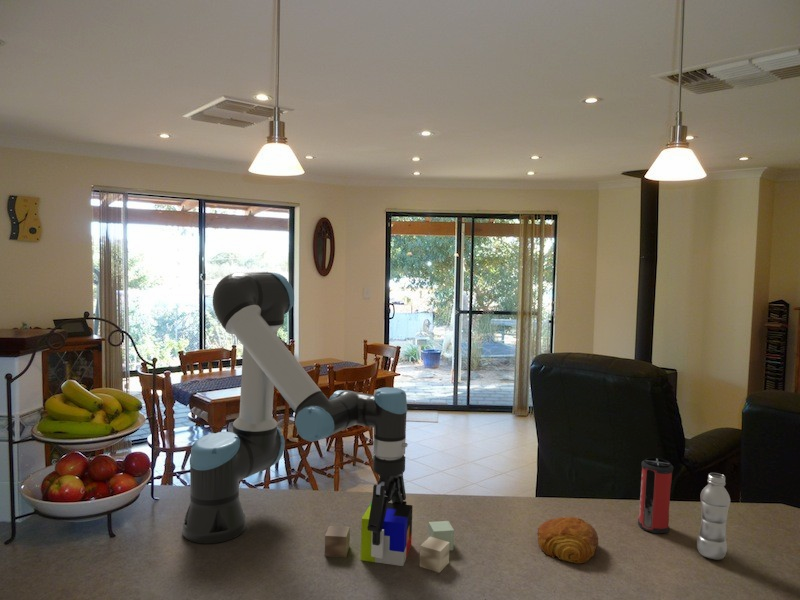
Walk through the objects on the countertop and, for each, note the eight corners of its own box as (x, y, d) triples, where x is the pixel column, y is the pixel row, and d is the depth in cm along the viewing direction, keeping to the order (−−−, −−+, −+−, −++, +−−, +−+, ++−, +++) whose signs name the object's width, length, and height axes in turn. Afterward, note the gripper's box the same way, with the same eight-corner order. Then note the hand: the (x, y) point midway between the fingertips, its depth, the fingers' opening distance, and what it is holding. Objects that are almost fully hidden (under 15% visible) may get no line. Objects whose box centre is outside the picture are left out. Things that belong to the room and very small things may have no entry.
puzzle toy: (403, 566, 132) (404, 523, 132) (360, 560, 134) (361, 518, 134) (411, 545, 142) (412, 505, 141) (371, 539, 144) (372, 500, 143)
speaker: (670, 536, 150) (675, 468, 149) (638, 531, 153) (642, 464, 151) (667, 524, 157) (672, 459, 156) (637, 518, 160) (641, 454, 159)
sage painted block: (433, 551, 139) (433, 531, 139) (428, 541, 144) (428, 522, 144) (453, 550, 140) (454, 530, 140) (447, 540, 145) (448, 520, 145)
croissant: (599, 550, 147) (603, 518, 147) (592, 571, 133) (596, 536, 133) (542, 535, 153) (545, 504, 153) (529, 554, 139) (532, 520, 139)
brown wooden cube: (324, 556, 136) (324, 535, 135) (328, 545, 141) (329, 525, 140) (345, 557, 135) (346, 536, 135) (349, 546, 140) (349, 526, 140)
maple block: (419, 566, 132) (420, 545, 132) (429, 557, 137) (430, 536, 136) (439, 573, 130) (440, 551, 130) (448, 563, 134) (449, 542, 134)
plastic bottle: (723, 552, 143) (729, 472, 141) (728, 565, 136) (735, 482, 135) (694, 547, 145) (699, 468, 143) (698, 560, 139) (704, 478, 137)
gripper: (386, 475, 124) (383, 573, 125) (420, 441, 147) (417, 524, 148) (353, 470, 126) (351, 566, 128) (392, 437, 149) (389, 519, 151)
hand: (387, 544), depth 138 cm, fingers open, 12 cm apart
